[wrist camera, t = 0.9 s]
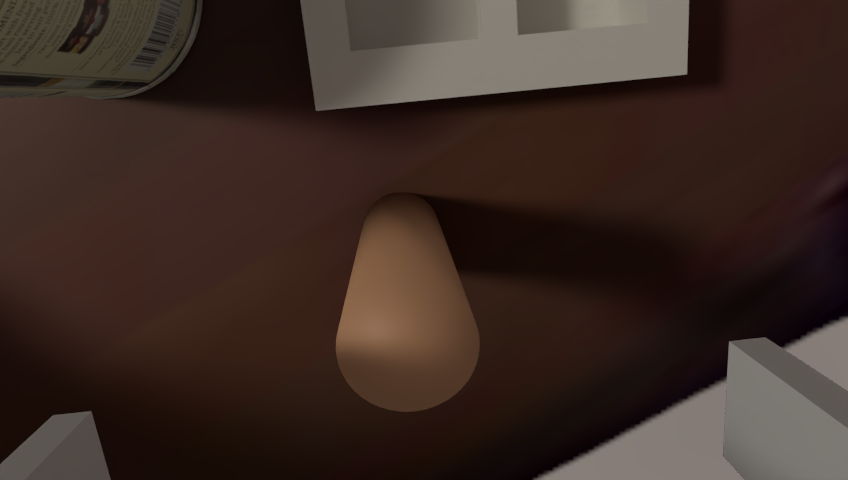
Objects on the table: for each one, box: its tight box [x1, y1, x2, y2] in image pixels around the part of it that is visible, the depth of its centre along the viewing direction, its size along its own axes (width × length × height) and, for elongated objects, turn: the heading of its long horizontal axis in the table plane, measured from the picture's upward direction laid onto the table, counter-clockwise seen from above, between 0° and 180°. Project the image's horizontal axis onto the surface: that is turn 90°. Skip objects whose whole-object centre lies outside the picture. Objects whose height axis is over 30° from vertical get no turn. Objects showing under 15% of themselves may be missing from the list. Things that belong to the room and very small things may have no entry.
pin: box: [336, 192, 480, 412], centre depth 22 cm, size 4×4×14 cm
